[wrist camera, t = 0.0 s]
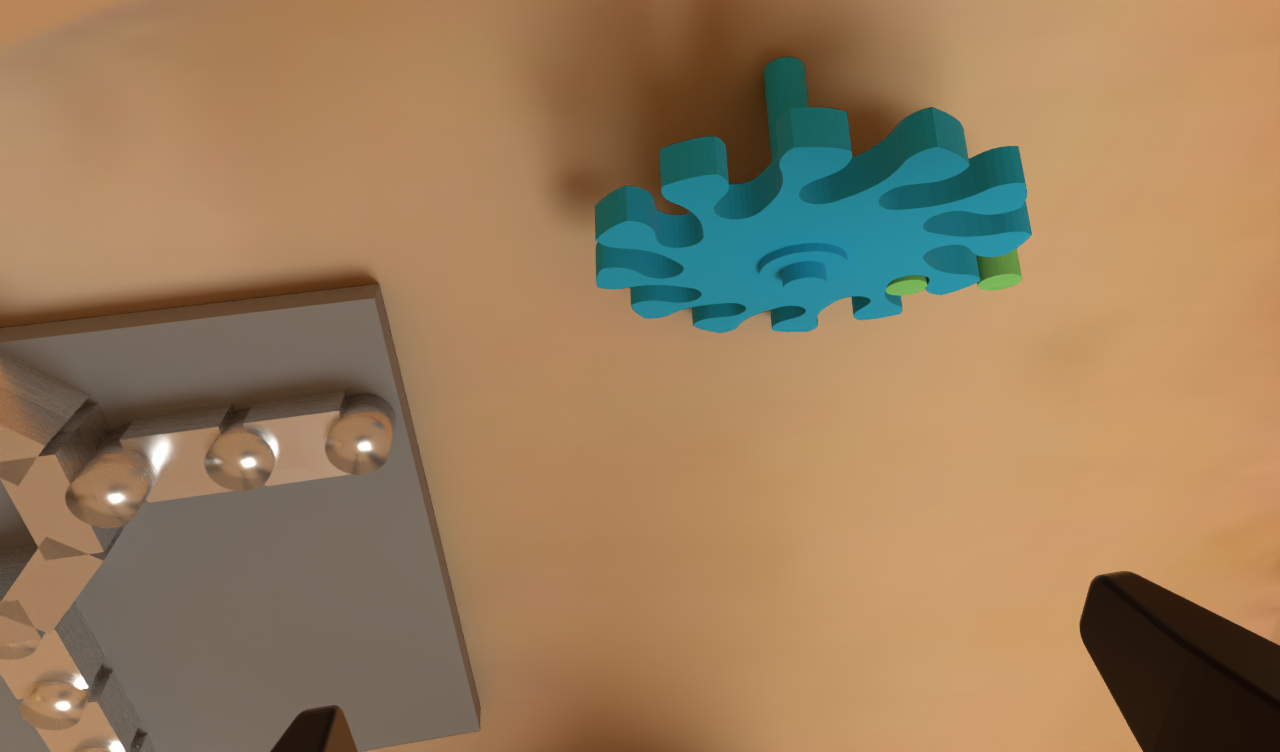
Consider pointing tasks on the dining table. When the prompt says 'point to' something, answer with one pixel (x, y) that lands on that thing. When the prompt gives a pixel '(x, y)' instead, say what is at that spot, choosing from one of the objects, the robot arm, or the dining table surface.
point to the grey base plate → (261, 540)
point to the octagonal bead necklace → (111, 497)
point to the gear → (816, 220)
